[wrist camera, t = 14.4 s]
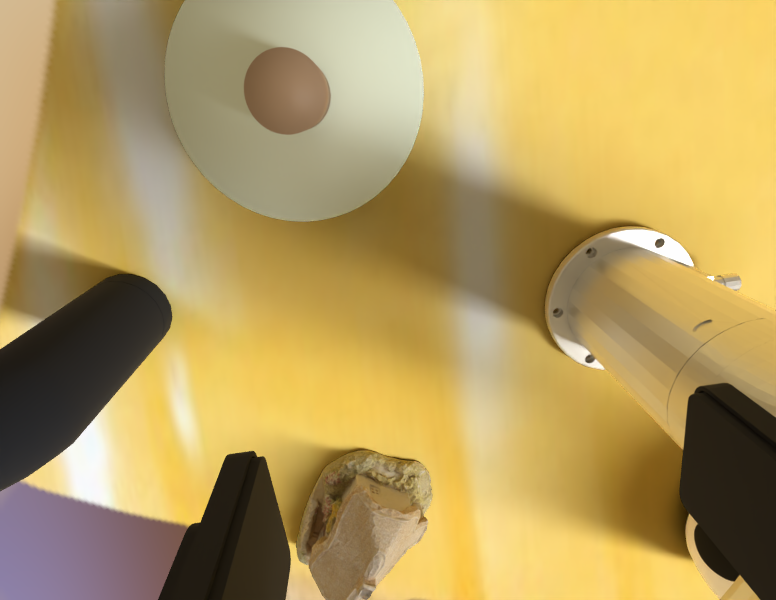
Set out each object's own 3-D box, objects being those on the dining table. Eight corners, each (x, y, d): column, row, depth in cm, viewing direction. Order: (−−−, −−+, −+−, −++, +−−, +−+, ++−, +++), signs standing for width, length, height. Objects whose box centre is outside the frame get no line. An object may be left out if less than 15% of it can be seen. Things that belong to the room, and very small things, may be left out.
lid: (406, -69, 28) (418, -114, 22) (433, 201, 33) (448, 219, 28) (137, -32, 28) (81, -67, 22) (207, 233, 33) (176, 258, 28)
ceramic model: (348, 427, 46) (346, 507, 37) (450, 474, 49) (471, 560, 40) (279, 533, 50) (261, 630, 41) (376, 571, 53) (380, 671, 43)
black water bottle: (188, 327, 42) (-158, 769, 14) (122, 358, 42) (-335, 841, 14) (142, 260, 40) (-380, 623, 12) (73, 294, 40) (-577, 717, 12)
